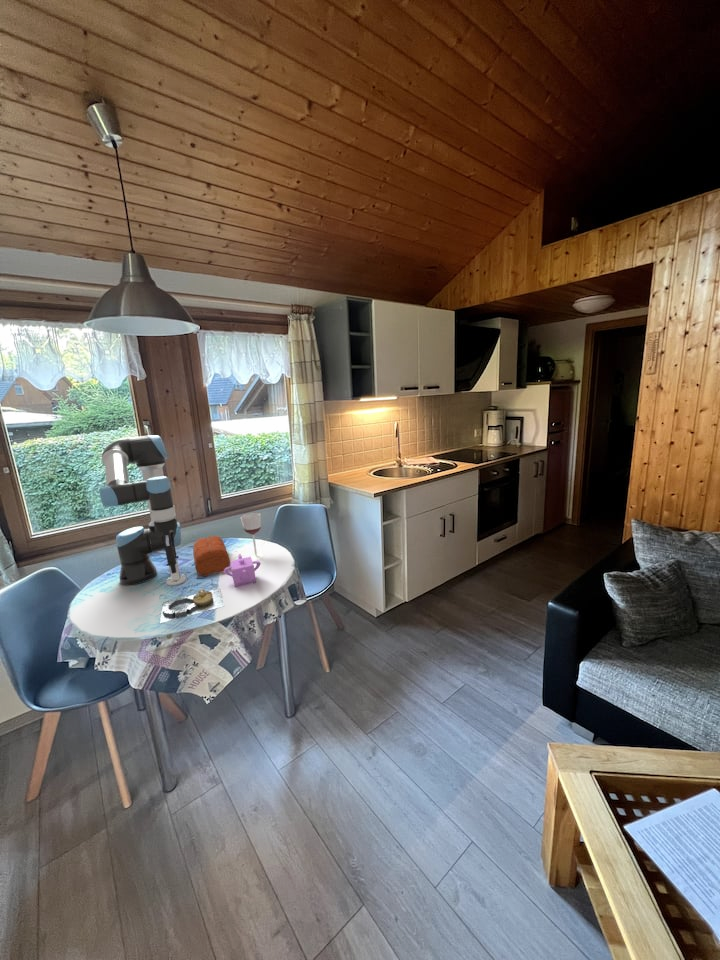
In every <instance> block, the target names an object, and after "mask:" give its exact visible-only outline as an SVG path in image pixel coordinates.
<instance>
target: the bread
mask: <svg viewBox="0 0 720 960" xmlns="http://www.w3.org/2000/svg"><path fill="white" fill-rule="evenodd" d="M192 549H193V551H192V552H193V553H192V555H193V561H194V563H193V564H194V566H195V571H196V573H197V574H198V575H200V576H202V577H203V576H204V577H206V576H211V575H215V574H218V573H223V572H224V569H225V568H227V567H230V566H231V562H230V561H231V560H230V556H229V552H228V550H227V547H226V546H225V542H224V541H223V539H222V538H221V537H220V536H216V535H211V536H209V537H203V538H199V539H198V540H196V541H195V542H194V544H193V547H192Z"/></svg>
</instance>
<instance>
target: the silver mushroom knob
mask: <svg viewBox="0 0 720 960" xmlns="http://www.w3.org/2000/svg"><path fill="white" fill-rule="evenodd" d="M178 561H179V560H178V559H177V560H176V563H177V567H178V572H179V577H180V580H175V581H172V580H171V576H170V577H168V578H166V579H165V584H166V586H167V587H170V588H171V587H172V588H173V587H178V586H181V585H183V584H185V583H186V582H187V580H188V578H187V575H186V574H183V573H181V572H180V565H179V562H178Z"/></svg>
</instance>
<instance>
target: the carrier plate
mask: <svg viewBox="0 0 720 960" xmlns="http://www.w3.org/2000/svg"><path fill="white" fill-rule="evenodd" d="M208 591H209V592H211V593H212V596H213V601H212V602H211V603H210V604H208V605H205V606H198V605H197V604H195V603H194V601H193V597H194V596H195V595H196V594H197V593H196V594H191V595H188V596H187V595H183V596H180V597H176V598H175V599H172V600H171V599H170V600H168V601H167V600H166V601H163V602H162V603H161V612H160V620H159V624H162V623H166V622H170V621H171V622H172V621H173V620H177V619H182V618H186V617H189V616H193V615H197V614H200V613H204V612H207V611H208V612H209V611H211V610H212V611H213V610H216V609H219V608H223V607H225V604H224V599H223V593H222V588H216V589H211V590H208Z"/></svg>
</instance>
